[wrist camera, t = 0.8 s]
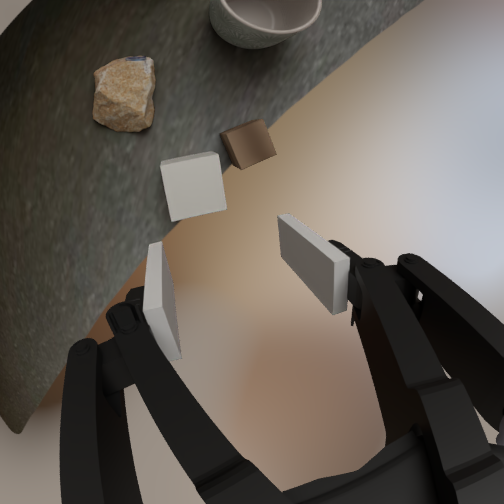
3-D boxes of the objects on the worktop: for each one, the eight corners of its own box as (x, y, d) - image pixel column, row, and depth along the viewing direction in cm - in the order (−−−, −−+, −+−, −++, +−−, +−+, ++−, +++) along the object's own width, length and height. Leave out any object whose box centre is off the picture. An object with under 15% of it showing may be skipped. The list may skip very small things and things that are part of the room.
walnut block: (233, 165, 40) (241, 169, 35) (219, 133, 38) (226, 133, 33) (264, 151, 40) (276, 154, 36) (251, 120, 38) (262, 118, 33)
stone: (158, 58, 31) (157, 50, 27) (152, 130, 35) (150, 130, 31) (99, 62, 29) (91, 55, 25) (93, 134, 33) (84, 135, 29)
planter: (203, 56, 32) (217, 31, 23) (203, -14, 27) (216, -51, 18) (289, 58, 35) (326, 41, 26) (284, -8, 30) (317, -37, 20)
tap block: (170, 209, 40) (171, 221, 35) (161, 161, 37) (160, 165, 32) (218, 198, 41) (227, 209, 36) (211, 151, 38) (218, 154, 33)
